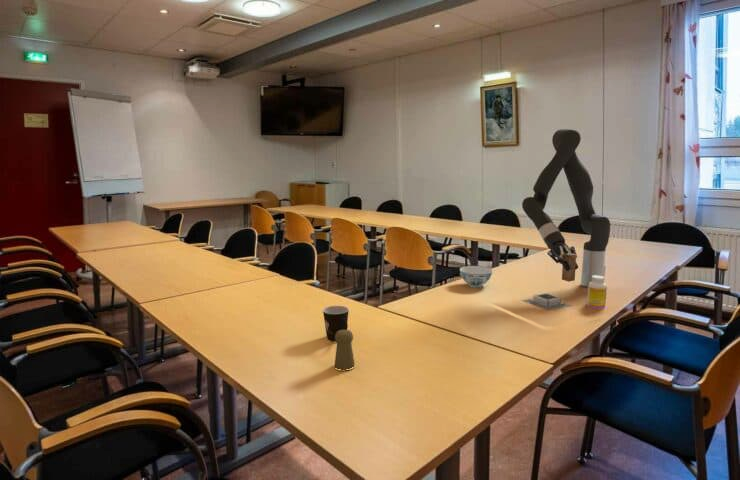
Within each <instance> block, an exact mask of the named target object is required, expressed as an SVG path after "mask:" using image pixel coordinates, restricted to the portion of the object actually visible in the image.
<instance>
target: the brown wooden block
mask: <svg viewBox="0 0 740 480" xmlns="http://www.w3.org/2000/svg"><path fill="white" fill-rule="evenodd" d="M576 255H577V253H576V254H572V253H566V254H564V257H565V259H566V261H567V262H568V264H569V265H570V267H571V269H570V270H569V271H566V270H565V268H564V267H563V266H562V269H561V270H562V271H561V280H563V281H565V282H572V281H573V282H575V280H576V270H575V266H576V263H577V258H576Z"/></svg>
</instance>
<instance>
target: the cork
mask: <svg viewBox="0 0 740 480" xmlns="http://www.w3.org/2000/svg"><path fill="white" fill-rule="evenodd" d="M353 339H354V335H353V332H352V331H351V330H348V329H347V330H340V331H338V332H337V333H336V334H335V340H336V342H335V343H336V348H335V349H336V350H335V357H334V366H335V368H337V369H341V370H346V369H350V368H352V367H354V365H355V366H356V364H355V357H354V352H353V344H352V342H353ZM335 368H334V369H335Z"/></svg>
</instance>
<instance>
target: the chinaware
mask: <svg viewBox="0 0 740 480" xmlns="http://www.w3.org/2000/svg"><path fill="white" fill-rule="evenodd" d="M459 273H460V276H461V278H462V280H463V281H464V282H465V283H466V284H468V287H470V288H475V289H476V288H482V287H483V286H484V285H485V284H486V283H487V282H489V280H490V279H491V277H492V274H493V269H492V268H490V267H486V266H480V265H469V266H467V265H466V266H463V267H460V268H459Z"/></svg>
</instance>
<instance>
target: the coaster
mask: <svg viewBox="0 0 740 480" xmlns="http://www.w3.org/2000/svg"><path fill="white" fill-rule="evenodd" d="M531 299H533V297H532V298H528V299H523V300H522V301H523V302H525V303H528V304H530V305H532V306H536V307H538V308H541V309H543V310H546V311H552V310H558V309H562V308H563V309H564V308H568V307H572V306H573V305H572V304H569V303H567V302H563V301H562V302H563V303H565V305H560V306H554V307H549V308H546V307H543V306H541V305H538V304H535V303H533V302H530V301H529V300H531Z"/></svg>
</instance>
